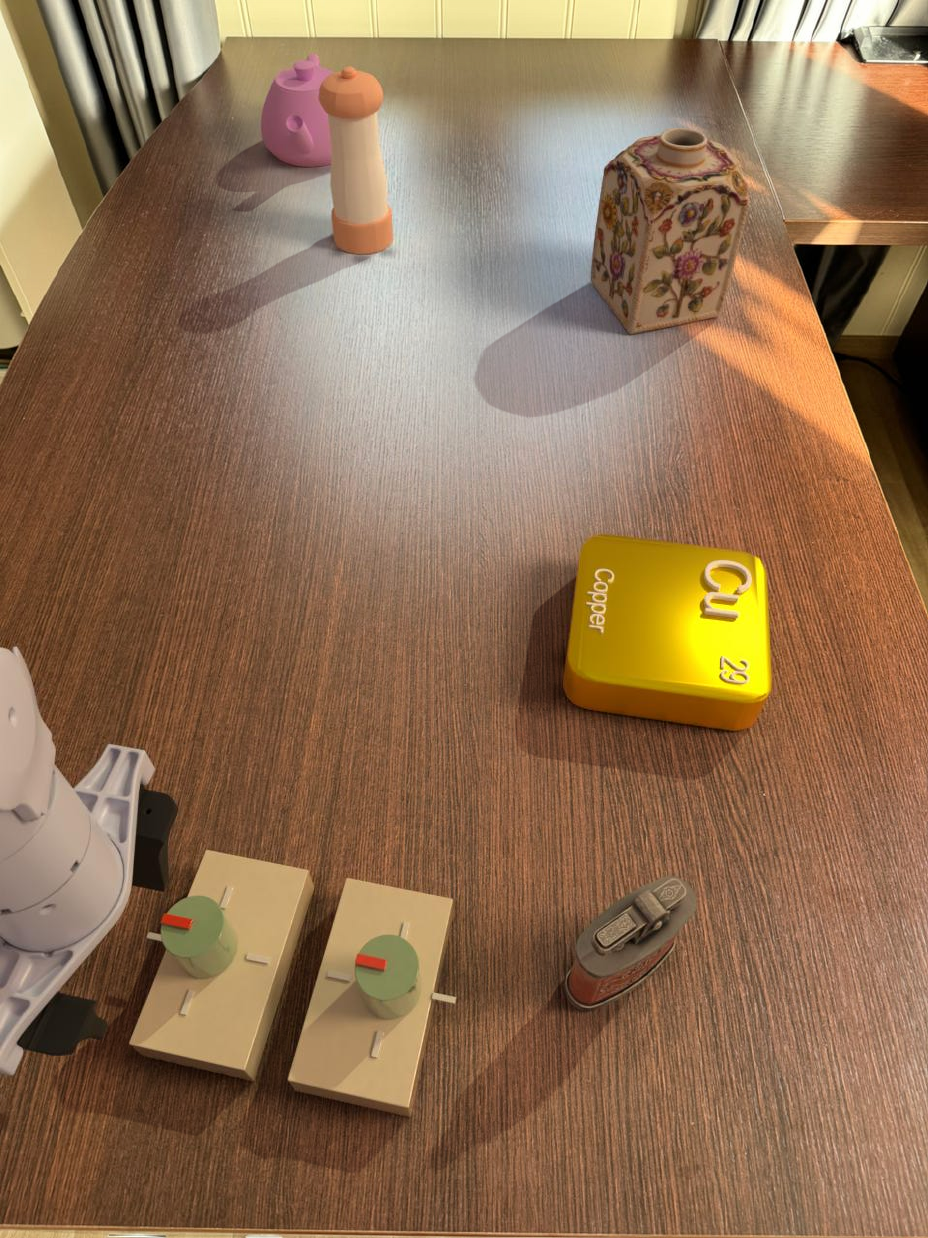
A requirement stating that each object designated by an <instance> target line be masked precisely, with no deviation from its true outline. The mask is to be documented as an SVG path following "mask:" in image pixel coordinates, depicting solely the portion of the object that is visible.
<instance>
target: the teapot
mask: <svg viewBox="0 0 928 1238" xmlns="http://www.w3.org/2000/svg"><path fill="white" fill-rule="evenodd" d="M292 66H293V67H289V68H286V69H284V70H281V72H279V73H278V74H277V75H276V76H275V77H274V79H273V81H272V83H271V85H270V87H269V90H268V92H267V95H266V97H265V100H264V103H263V107H262V111H261V117H260V132H261V133H260V134H261V140H262V142H263V144H264V146H265V147H266V149H267V150H268V151H269V152H270V153H271V154H272V155H274V156H275V157H276V158H277V159H278V160H280V162H283V163H285V164H287V165H291V166H294V167H295V166H296V167H303V168H305V167H306V168H317V167H325V166H331V156H332V150H331V140H330V130H329V121H328V113H326V112H325V111H324V109H323V108H322V106H321V104H320V102H319V99H318V98H319V89H320V86H321V84H322V82H323V80H324V79H325V78H326V77H328V76H330V75H332V74H334V73H335V72H334V71H332V70H331V69H329V68H327V67H322V66H321V61H320V57H319V56H318V55H317V54H315V53H311V54H309V55H308V56H307V57H306V59H305V60H303V59H302V60H298V61H296V62H294V63H293V64H292Z"/></svg>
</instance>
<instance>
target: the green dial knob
mask: <svg viewBox="0 0 928 1238" xmlns="http://www.w3.org/2000/svg"><path fill="white" fill-rule="evenodd" d="M160 924H161V927H160V935H161V939H162V942H161V943H162V945H163V947H164V948H165V950H166V949H167V950H168V952H169V953H170V954H171V955H172V957H173V958H174V959H175V960H176V962H177V963H178V964H179V965H180V966H181V968H182V969H183V970H184V971H185V972H186V973H187V974H189V975H190V976H192V977H195V978H210V977H213V976H216V975H218V974H220V973H221V972H223V971H224V970H225V969H226V968H227V967H228V966H229V965H230V964H231V962H232V961H233V959H234V957H235V955H236V952H237V946H238V941H237V935H236V933H235V931H234V929H233V927H232V926H231V924H230V922H229V921H228V919H227V917H226V915H225V914H224V912H223V910H222V909H221V907H220V906H219V904H218V903H217V902H216V901H214V900H213V899H211V898H209V897H206V896H190V897H187V896H186V897H184V898H182V899H180V900H179V901H177V902H176V903H175V904H173V906H171V907H170V909H169V910H168V911H167V912H166V913H163V915H162V918H161V920H160Z"/></svg>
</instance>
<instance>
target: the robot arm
mask: <svg viewBox="0 0 928 1238" xmlns="http://www.w3.org/2000/svg"><path fill="white" fill-rule="evenodd" d="M56 755H57V750H56V745H55V743H54V741H53V733H52V731H51V730H50V729H49V727H48V725H47V724H46V723H45V721H44V720H43V718H42V715H41V712H40V710H39V706H38V701H37V697H36V692H35V688H34V683H33V680H32V676H31V674H30V671H29V668H28V666H27V663H26V660H25V658H24V657H23V654H22V653H21V651H20V649H19V648H18V646H16V645H15V646H13V647H12V649H11V650H10V649H9V648H5V647H2V646H1V647H0V1074H2V1075H7V1076H10V1077H12V1076H14V1075H15V1073H16V1071H17V1069H18V1067H19V1065H20V1062H21V1060H22V1058H23V1056H24V1052H25V1051H24V1050H26V1051H29V1052H34V1053H39V1054H42V1055H46V1056H52V1057H65V1056H70V1055H73V1054H74V1053H75V1051H76V1049H77V1047H78V1045H79V1044H80V1043H81V1042H82V1041H86V1040H89V1039H93V1040H97V1041H101V1040H103V1039H104V1038H105V1035H106V1033H107V1031H108V1028H109V1023H108V1021H107V1020H105V1019H103V1018H102V1017H100V1016H99V1015H98V1014H97V1013H96V1011H95V1007H96V1004H97V1000H94V999H89V998H85V997H80V996H75V995H73V994H72V995H71V994H66V993H63V992H61V991H60V990H61V989H62V987H63V986H64V985H65V984H66V982H67V981H68V980H69V979H70V978H71V976H73V974H74V973H75V972H76V971H77V970H78V968H79V967H80V966H81V965H82V964H83V963H84V961H86V959H87V958H88V957H89V955H90V954H91V953H92V952H93V951H94V950H95V949H96V947H97V946H98V944H100V943H101V942H102V940H103V939H104V938H105V937H106V936H107V934H108V933H109V932H110V931H111V930H112V929H113V927H115V925H116V923H117V922H118V921H119V919H120V918H121V916H122V914H123V912H124V911H125V909H126V906H127V904H128V901H129V899H130V895H131V893H132V892H131V891H132V887H136V888H141V889H146V890H152V891H156V892H161V893H165V891H166V888H167V886H168V884H169V880H170V869H169V842H170V834H171V830H172V828H173V825H174V823H175V821H176V819H177V817H178V813H179V811H180V809H179V806H178V805H177V803H176V801H175V799H174V798H173V797H172V796H171V795H170V794H168V793H165V792H161V791H158V790H157V791H156V790H150V789H146V787H145V786H147V785H149V783H150V781H151V779H152V777H153V776H154V773H155V771H156V768H155V766H154V764H153V763H152V761H151V759H150V757H149V756H148V754H147V752H146V750H144V749H139V748H134V747H128V746H125V745H124V746H123V745H117V744H113V743H108V744H106V747H105V749H104V750H103V751H102V753H101V755H100V756H99V758H98V760H97V761H96V763H95V764H94V765H93V767H91V769H90V770H89V771H88V772H87V773H86V774H85V776H84V777H83V778H82V779H81V780H80V781H78V783H77V784H76V785H75V786H74V787H72V786H71V784H70V782H69V781H68V780H67V779H66V777H65V776H64V775H63V774H62V772H61V771H60V769H59V768H58V767H57V765H56V764H55V763H56Z"/></svg>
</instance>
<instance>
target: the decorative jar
mask: <svg viewBox="0 0 928 1238" xmlns="http://www.w3.org/2000/svg"><path fill="white" fill-rule="evenodd" d="M741 163H742V162H741V161H740V160H739V159H738V158H737V157H736V156H735V155H734V154H733V153H732V152H731V151H730V150H729V149H728V148H727V147H725V146H724V145H723V144H721V143H720V142H717V141H714V140H709V139H708V137H707V136H706V135H705V134H704V133H703V132H701V131H699V130H696V129H693V128H687V127H672V128H668V129H665V130H663V131H662V132H661V133H660V135H659V134H658V135H651V136H643V137H640V138H639V139H636V140H635V141H634V142H633V143H631V145H629V146H627V148H626V149H624V150H622V151H620V152H619V153H618V154H617V155H616V156H615V157H614V159H612V160H610V161H608V163H607V164H606V165H605V166H604V168H603V175H602V180H601V187H600V194H599V201H598V202H599V203H598V208H597V215H596V222H595V228H594V229H595V230H594V237H593V247H592V257H591V265H590V277H589V278H590V282H591V284H592V285H593V287H595V289H596V290H597V292H598V293H599V294H600V296H601V297H602V299H603V300H604V301H605V303H606V304H607V305H608V307H609V308H610V310H611V311H612V312H613V314H614V315H615V316H616V317H617V319H618V320H619V321H620V323H621V325H622V326H623V327H624V328H625V330H626V331H627V332H628V334H630V335H635V334H640V333H644V332H650V331H655V330H660V329H666V328H671V327H677V326H680V325H686V324H690V323H694V322H700V321H704V320H709V319H715V318H718V317H719V316H720V315H721V314H722V311H723V309H724V305H725V302H726V298H727V296H728V292H729V288H730V285H731V281H732V278H733V272H734V269H735V264H736V260H737V256H738V253H739V250H740V249H739V248H740V246H741V241H742V237H743V233H744V229H745V226H746V221H747V217H748V212H749V208H750V203H751V196H750V194H749V189H748V184H747V181H746V179H745V175H744V172H743V167H742V164H741Z"/></svg>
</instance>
